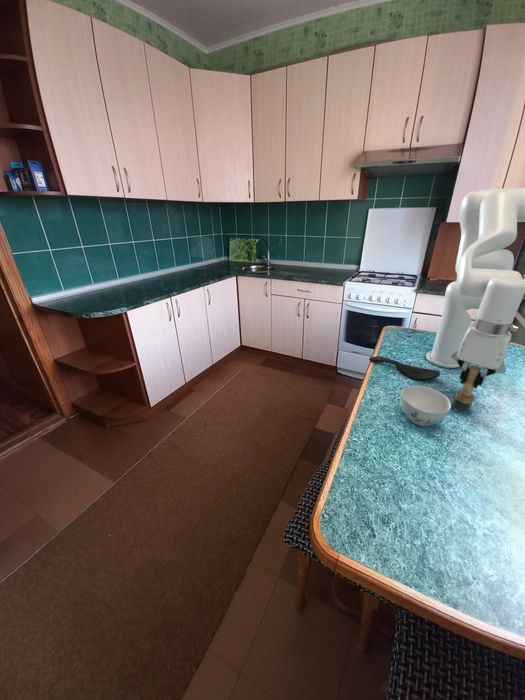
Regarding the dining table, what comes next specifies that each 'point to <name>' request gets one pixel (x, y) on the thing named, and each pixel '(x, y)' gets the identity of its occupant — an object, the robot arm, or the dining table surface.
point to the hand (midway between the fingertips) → (469, 383)
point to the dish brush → (466, 390)
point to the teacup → (424, 405)
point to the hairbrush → (410, 369)
